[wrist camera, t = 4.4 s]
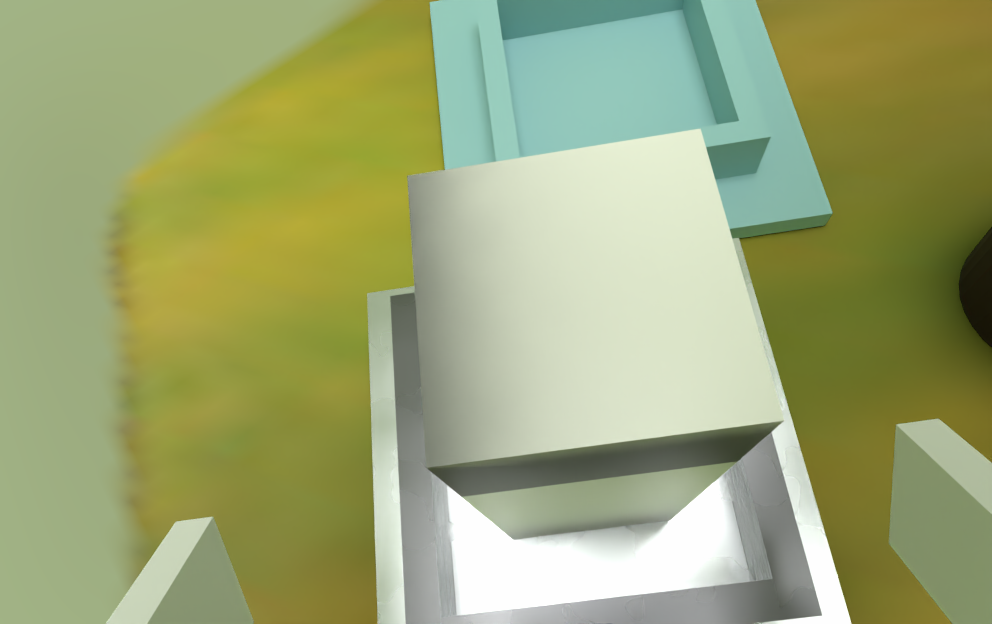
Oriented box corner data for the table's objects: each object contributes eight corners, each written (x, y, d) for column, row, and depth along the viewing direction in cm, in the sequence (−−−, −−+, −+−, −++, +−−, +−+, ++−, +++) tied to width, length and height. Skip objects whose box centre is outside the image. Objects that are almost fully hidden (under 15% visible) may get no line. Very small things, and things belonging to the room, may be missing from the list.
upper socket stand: (718, 284, 28) (754, 200, 22) (818, 654, 23) (902, 674, 17) (394, 331, 29) (346, 263, 23) (412, 698, 23) (354, 732, 18)
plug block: (639, 370, 23) (700, 128, 11) (670, 520, 21) (784, 420, 9) (496, 390, 23) (407, 175, 11) (513, 539, 21) (426, 467, 9)
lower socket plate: (732, -36, 35) (746, -99, 32) (824, 225, 29) (855, 178, 25) (433, 17, 36) (419, -39, 33) (458, 280, 30) (443, 242, 27)
